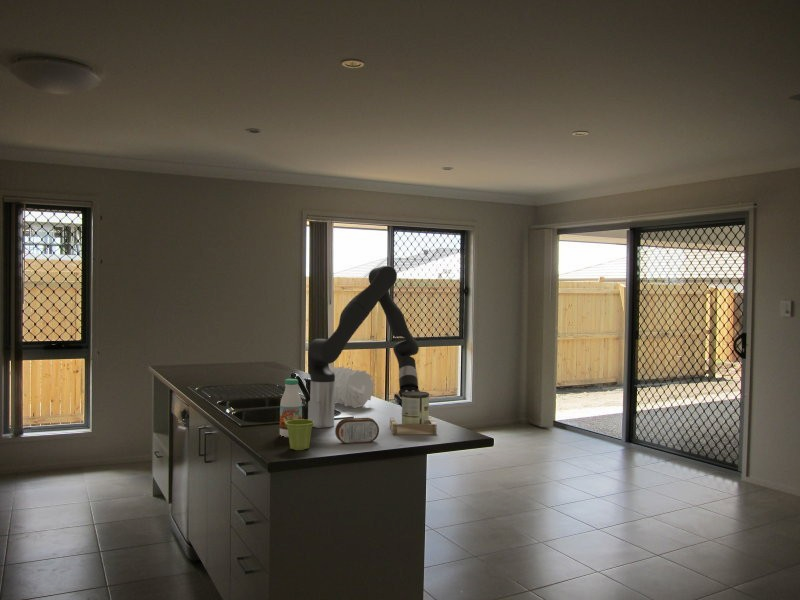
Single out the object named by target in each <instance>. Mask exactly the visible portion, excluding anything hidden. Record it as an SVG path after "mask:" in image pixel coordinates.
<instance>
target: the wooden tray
mask: <svg viewBox="0 0 800 600" xmlns="http://www.w3.org/2000/svg"><path fill="white" fill-rule="evenodd" d="M389 428H390V431H391V433H392V435H437V423H436V422H435V420H434V419H433V417H429V424H402V423H397V421H396V419H395V417H389Z"/></svg>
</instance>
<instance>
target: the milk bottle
mask: <svg viewBox="0 0 800 600" xmlns="http://www.w3.org/2000/svg"><path fill="white" fill-rule="evenodd" d="M298 385H299V380H298V379H297V378H286V379H284V386H285V389H284V392H283V394H282V397H281V398H280V406H279V436H280V435H281V436H280V437H282V436H284V437H283V438H289V435H288V429H287V425H286V424H285V422H286V421H289V420H297V419H303V401H302V397H301V395H300V393H299V389H298Z"/></svg>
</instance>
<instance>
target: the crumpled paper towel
mask: <svg viewBox="0 0 800 600" xmlns="http://www.w3.org/2000/svg"><path fill="white" fill-rule="evenodd" d="M330 370H331V371H332V372H333V373H334V374H335V396H334V403H338V404H340V405H344V407H345V406H346V407H348V406H350V407H352V408H353V409H356V408H357V407H362V408H363V407H364V406H365V405H366V403H367V402H368V401H371V399H372V396H374V386H375V383H374V381H373V379H372V377H373V375H371V374H369V373H367V370H360V369H356V370H355V369H353V368H350V367H349V366H348V367H344V366H339V367H337V366H336V365H335V366H333V368H331V369H330Z"/></svg>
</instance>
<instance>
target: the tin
mask: <svg viewBox="0 0 800 600" xmlns="http://www.w3.org/2000/svg"><path fill="white" fill-rule="evenodd" d="M334 433H335V437H336V438H337V440H338V441H340V442H341V443H343V444H346V445H349V444H350V445H351V444H352V445H353V444H368V443H369V444H370V443H373V442H375V440H376V439H378V436H379V433H380V427H379V425H378V423H377V421H376V420H375V419H373V418H371V417H348V418H346V417H345V418H343V419H341V420H340V421H339V422H338V423H337V425H336V427H335V430H334Z"/></svg>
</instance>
